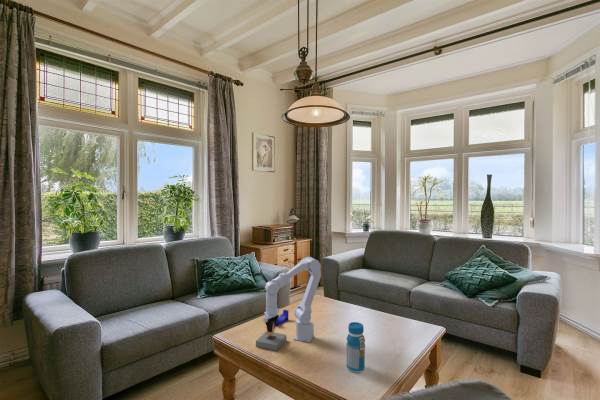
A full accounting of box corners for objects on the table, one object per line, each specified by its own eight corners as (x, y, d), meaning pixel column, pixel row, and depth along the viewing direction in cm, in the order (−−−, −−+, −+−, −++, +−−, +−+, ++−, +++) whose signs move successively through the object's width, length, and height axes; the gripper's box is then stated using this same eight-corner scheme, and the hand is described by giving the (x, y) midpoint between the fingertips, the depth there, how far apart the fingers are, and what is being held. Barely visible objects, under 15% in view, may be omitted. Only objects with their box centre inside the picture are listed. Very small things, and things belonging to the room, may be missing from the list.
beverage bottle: (347, 373, 138) (348, 329, 137) (344, 362, 147) (345, 320, 146) (366, 373, 138) (367, 329, 137) (362, 362, 147) (363, 321, 146)
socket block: (286, 340, 168) (286, 334, 168) (276, 351, 157) (276, 345, 157) (266, 336, 172) (266, 331, 172) (255, 346, 161) (255, 340, 161)
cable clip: (282, 318, 197) (282, 308, 197) (288, 320, 194) (288, 310, 194) (270, 324, 187) (270, 315, 187) (275, 326, 185) (275, 316, 185)
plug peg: (274, 333, 165) (274, 322, 165) (271, 335, 163) (271, 324, 162) (269, 332, 167) (269, 321, 166) (266, 334, 164) (266, 323, 164)
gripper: (270, 299, 172) (270, 323, 173) (258, 308, 159) (258, 334, 159) (282, 300, 170) (282, 325, 170) (270, 310, 156) (270, 337, 157)
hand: (271, 330), depth 164 cm, fingers closed on plug peg, 3 cm apart
